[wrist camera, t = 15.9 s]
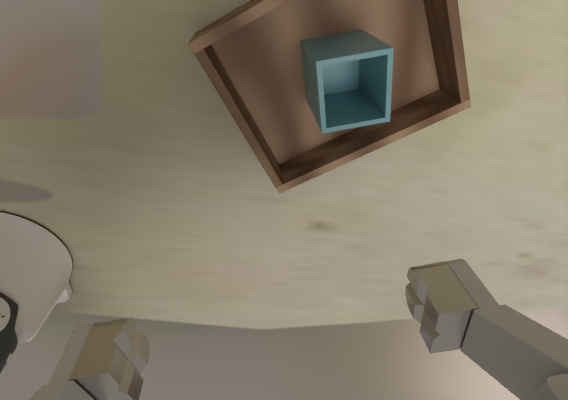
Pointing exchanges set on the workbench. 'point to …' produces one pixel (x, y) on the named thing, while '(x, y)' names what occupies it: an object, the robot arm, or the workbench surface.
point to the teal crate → (348, 79)
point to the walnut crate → (291, 85)
